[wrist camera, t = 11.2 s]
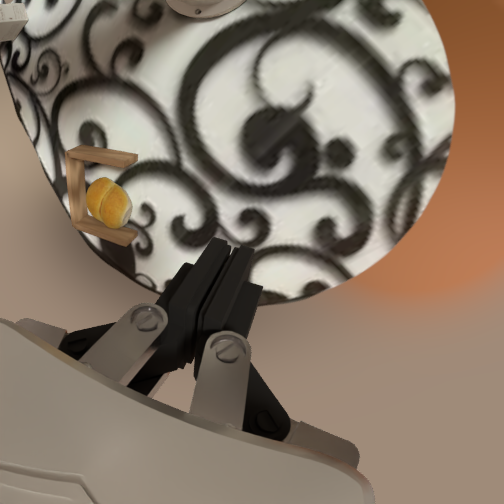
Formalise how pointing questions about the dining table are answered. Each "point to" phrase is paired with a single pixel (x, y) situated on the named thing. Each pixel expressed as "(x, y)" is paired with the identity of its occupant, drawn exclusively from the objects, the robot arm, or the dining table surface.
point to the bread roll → (109, 203)
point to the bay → (78, 191)
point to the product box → (12, 20)
